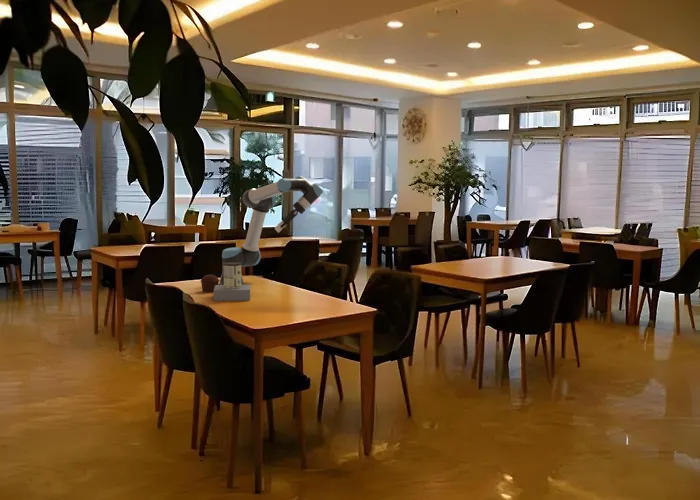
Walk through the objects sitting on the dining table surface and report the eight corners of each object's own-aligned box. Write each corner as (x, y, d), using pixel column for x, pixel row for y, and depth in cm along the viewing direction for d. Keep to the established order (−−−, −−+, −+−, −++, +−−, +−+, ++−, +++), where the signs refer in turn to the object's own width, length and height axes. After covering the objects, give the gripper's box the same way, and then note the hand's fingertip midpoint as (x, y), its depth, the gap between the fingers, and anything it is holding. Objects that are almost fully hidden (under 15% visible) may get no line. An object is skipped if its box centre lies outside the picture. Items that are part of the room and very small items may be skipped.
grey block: (215, 295, 390) (215, 285, 390) (250, 294, 393) (250, 284, 393) (213, 300, 370) (213, 290, 370) (250, 300, 373) (250, 289, 373)
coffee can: (226, 285, 387) (226, 261, 386) (243, 286, 386) (243, 262, 385) (221, 288, 377) (220, 263, 376) (238, 288, 376) (238, 264, 375)
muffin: (214, 293, 397) (214, 276, 396) (197, 292, 400) (197, 275, 399) (222, 290, 409) (222, 274, 408) (205, 289, 411) (205, 273, 410)
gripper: (307, 210, 386) (281, 236, 385) (304, 209, 411) (279, 233, 410) (298, 201, 385) (272, 227, 384) (295, 200, 409) (271, 224, 408)
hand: (276, 230), depth 397 cm, fingers open, 13 cm apart
